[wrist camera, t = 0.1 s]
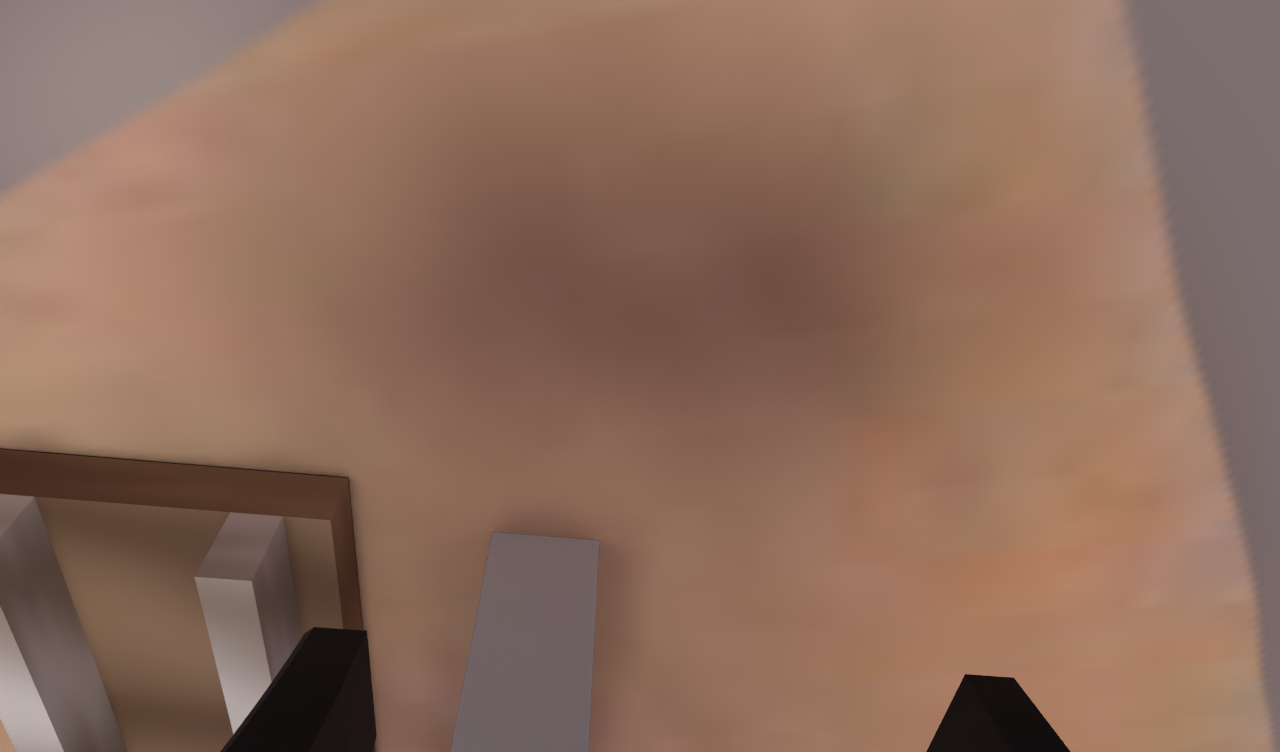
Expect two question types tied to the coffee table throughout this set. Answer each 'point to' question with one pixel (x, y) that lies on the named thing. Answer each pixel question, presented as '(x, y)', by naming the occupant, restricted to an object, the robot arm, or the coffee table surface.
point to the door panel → (531, 648)
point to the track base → (159, 596)
